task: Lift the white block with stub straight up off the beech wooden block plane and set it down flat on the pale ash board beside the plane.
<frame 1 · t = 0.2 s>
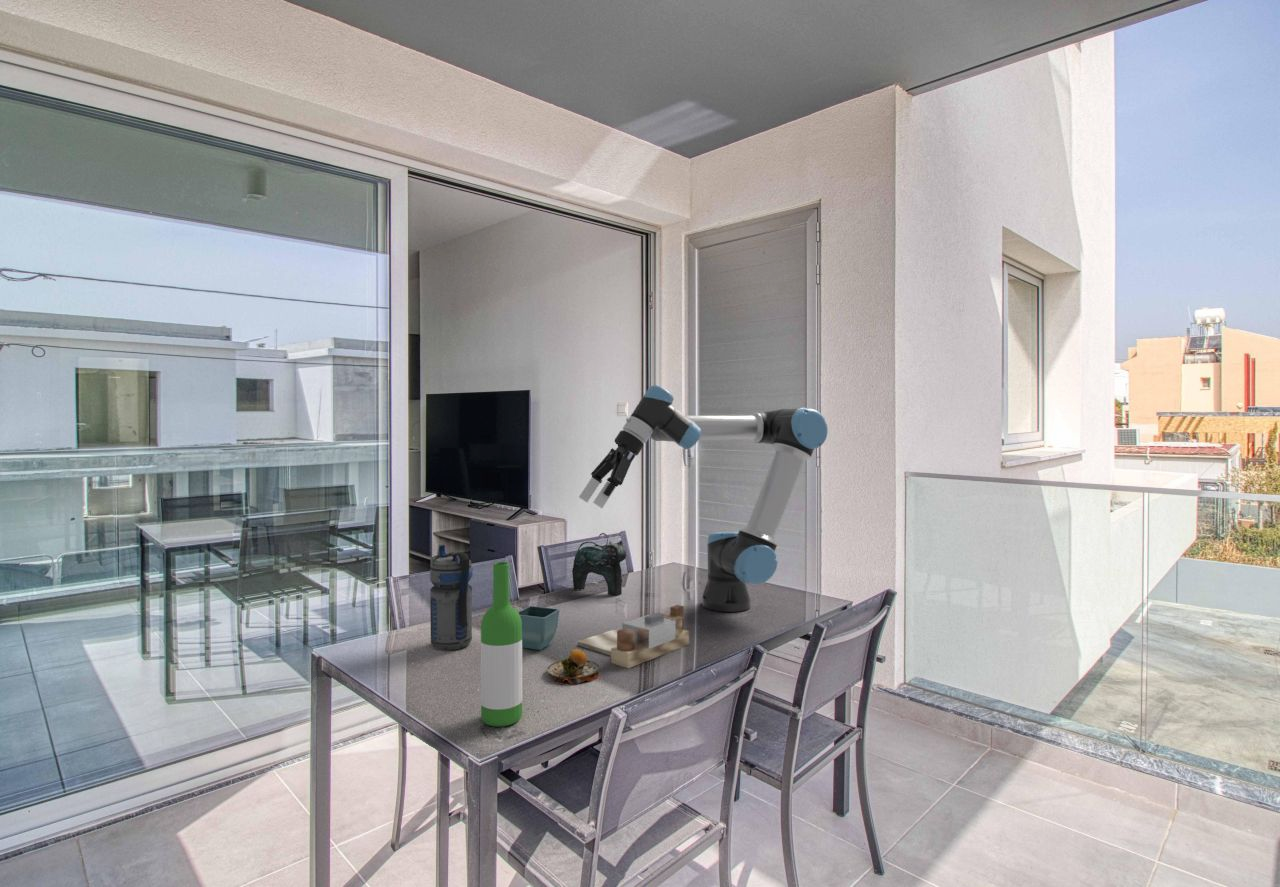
hand: (589, 502, 180), 35 cm above the table, tool tilted 35°, fingers open, 13 cm apart
white block with stub: (649, 640, 166), point 3 cm above the table, touching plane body
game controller: (597, 592, 227), on the table
ash board: (613, 643, 174), on the table
wine bottle: (501, 720, 130), on the table
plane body: (651, 653, 167), on the table
flower pot: (536, 647, 172), on the table
salad plate: (573, 676, 153), on the table
beverage bottle: (453, 646, 172), on the table
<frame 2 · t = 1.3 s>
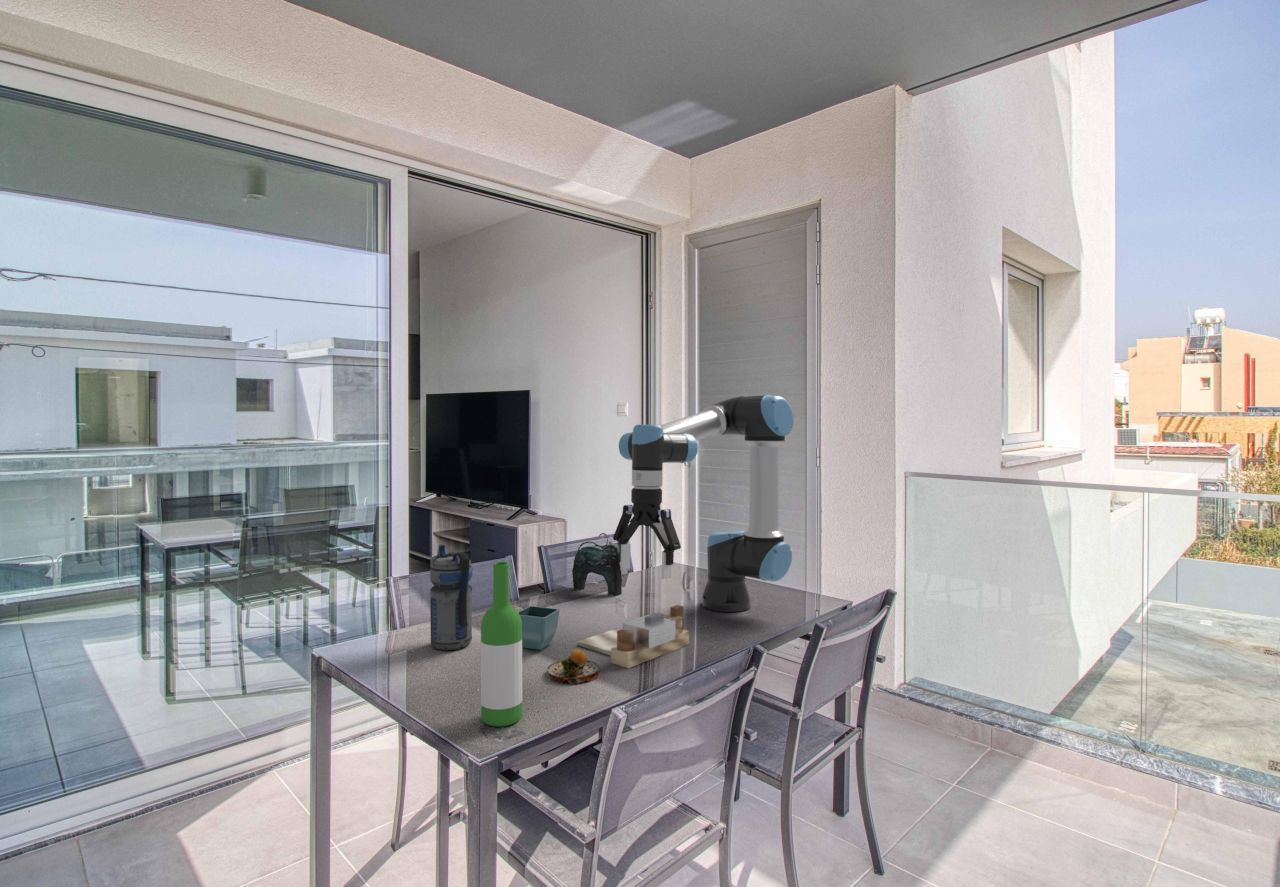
hand: (645, 574, 166), 20 cm above the table, tool pointing down, fingers open, 13 cm apart
nothing on the table moved.
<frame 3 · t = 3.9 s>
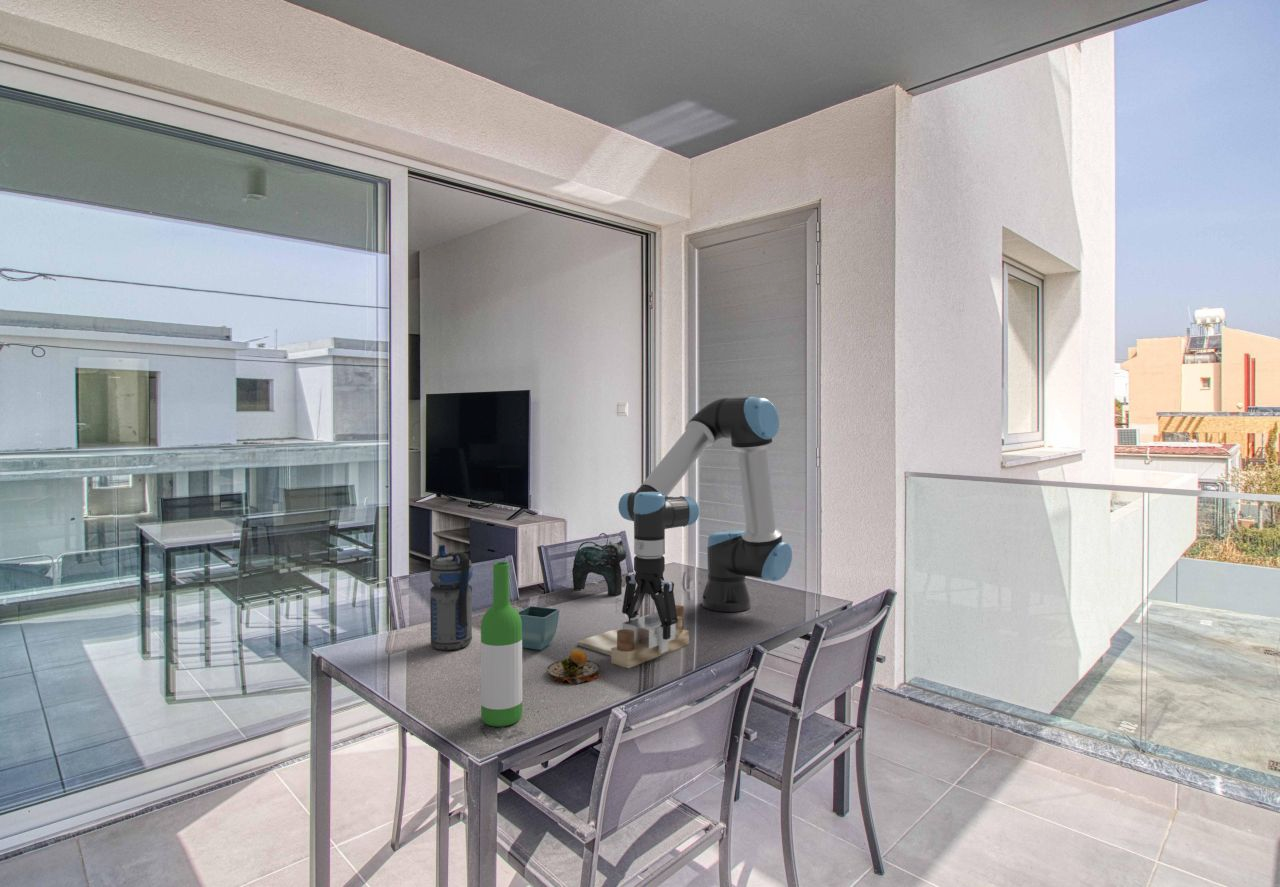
hand: (649, 647, 166), 2 cm above the table, tool pointing down, fingers closed on white block with stub, 8 cm apart
white block with stub: (649, 640, 166), point 4 cm above the table, touching gripper, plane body
everything else where it was.
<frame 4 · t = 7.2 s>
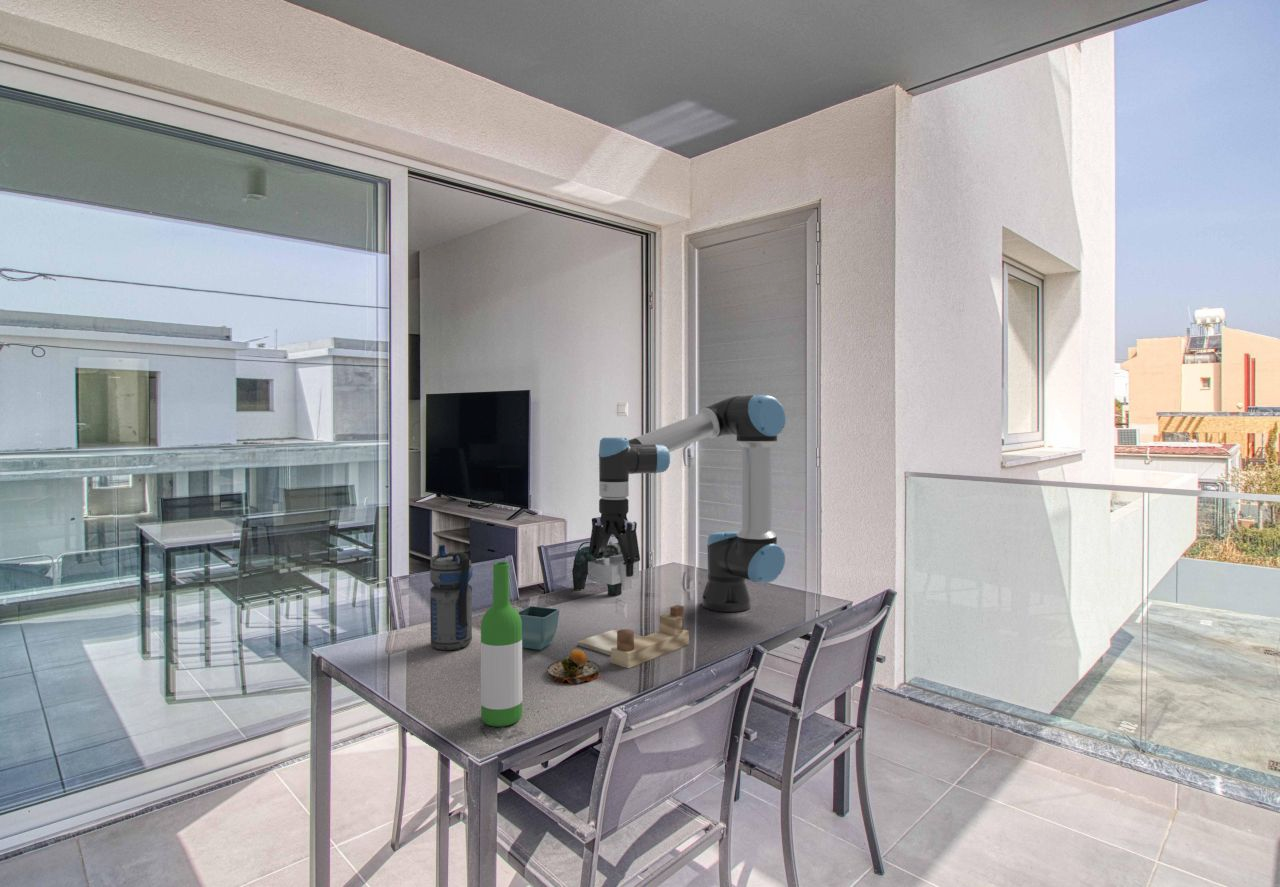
hand: (613, 586, 174), 15 cm above the table, tool pointing down, fingers closed on white block with stub, 8 cm apart
white block with stub: (613, 578, 174), point 17 cm above the table, touching gripper
everything else where it was.
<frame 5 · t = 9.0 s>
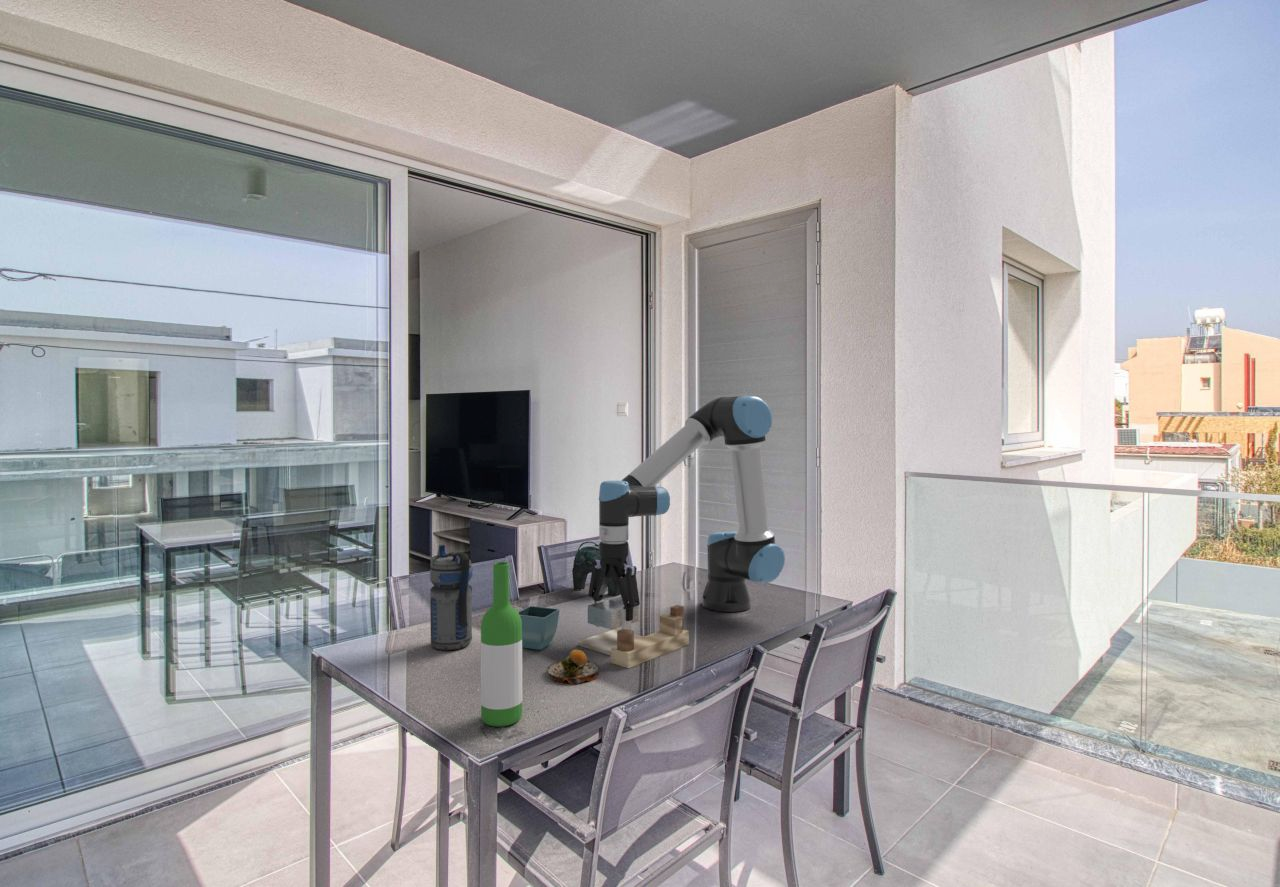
hand: (613, 629, 174), 4 cm above the table, tool pointing down, fingers closed on white block with stub, 8 cm apart
white block with stub: (613, 622, 174), point 6 cm above the table, touching gripper
everything else where it was.
when the fingers open (2 cm above the table, at t = 10.3 s): white block with stub drops 3 cm, resting on ash board.
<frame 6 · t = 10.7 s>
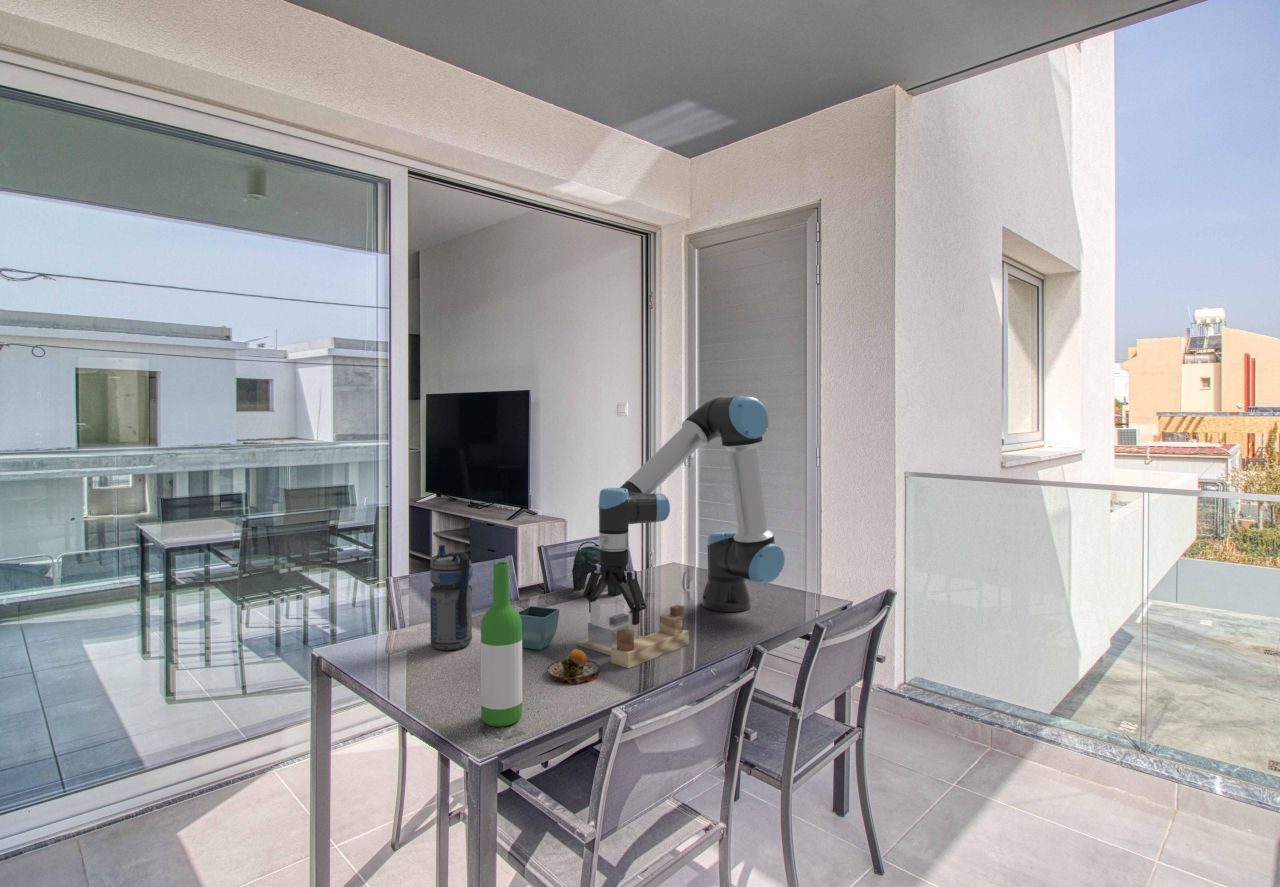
hand: (613, 631, 174), 3 cm above the table, tool pointing down, fingers open, 13 cm apart
white block with stub: (613, 639, 174), point 1 cm above the table, touching ash board
everything else where it was.
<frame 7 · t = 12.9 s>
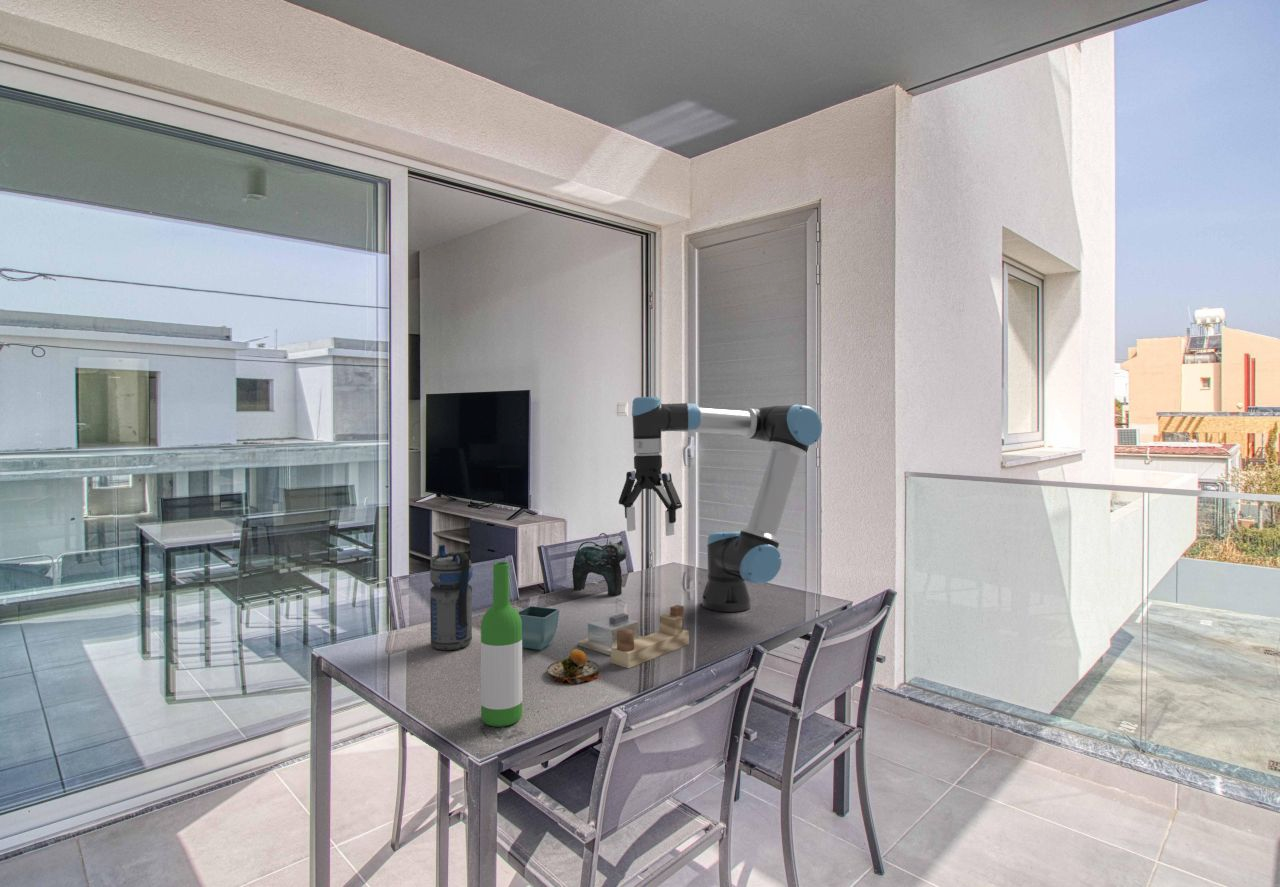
hand: (650, 532, 184), 27 cm above the table, tool pointing down, fingers open, 13 cm apart
nothing on the table moved.
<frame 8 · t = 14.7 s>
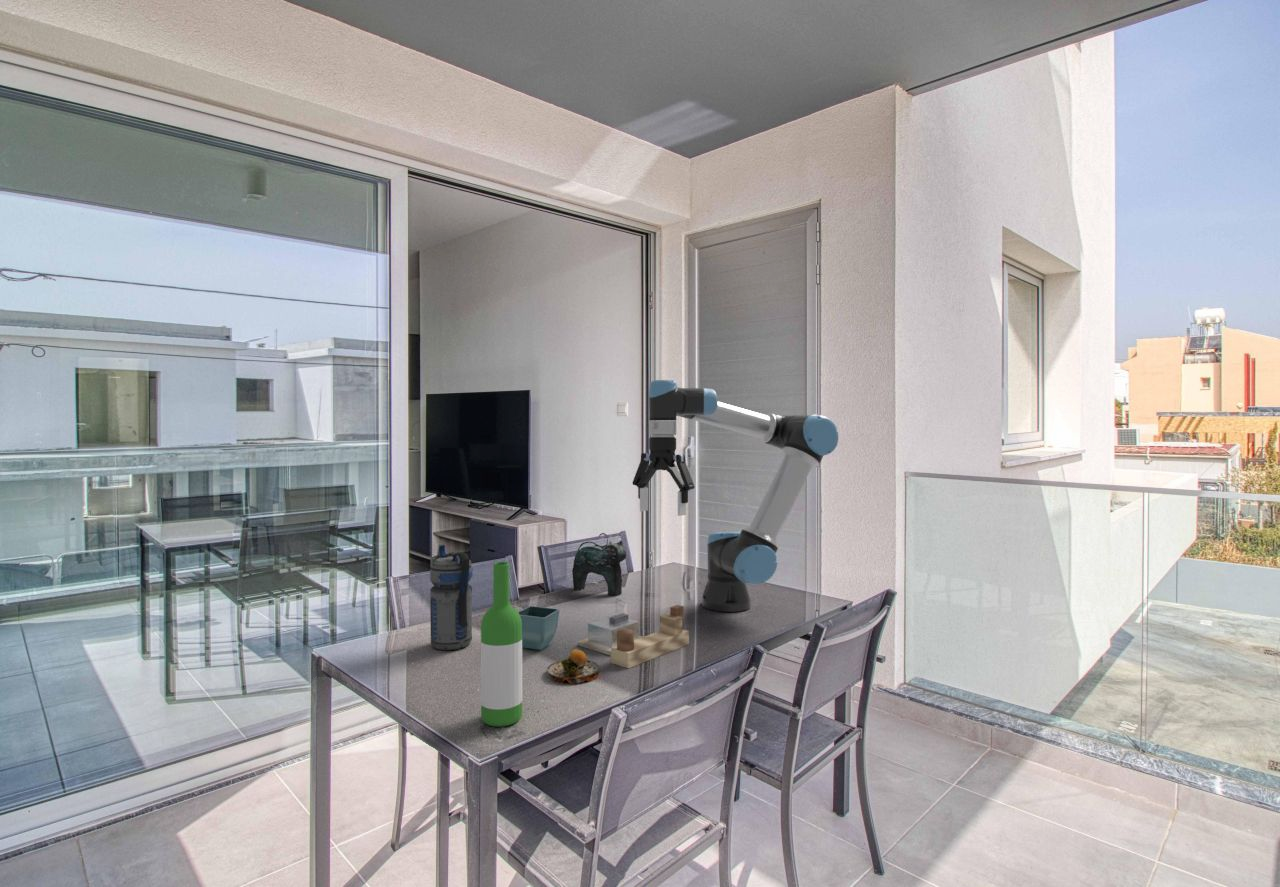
hand: (662, 513, 188), 32 cm above the table, tool pointing down, fingers open, 13 cm apart
nothing on the table moved.
at the end: white block with stub inside the target area on the ash board (0.0 cm from its centre), point 1.0 cm above the ash board's base; white block with stub tilted 0°; the gripper is holding nothing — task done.
